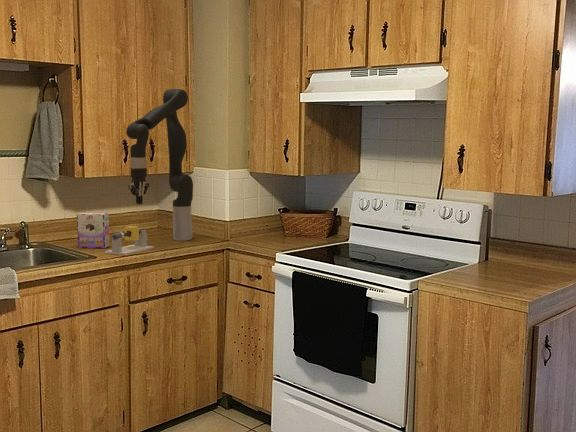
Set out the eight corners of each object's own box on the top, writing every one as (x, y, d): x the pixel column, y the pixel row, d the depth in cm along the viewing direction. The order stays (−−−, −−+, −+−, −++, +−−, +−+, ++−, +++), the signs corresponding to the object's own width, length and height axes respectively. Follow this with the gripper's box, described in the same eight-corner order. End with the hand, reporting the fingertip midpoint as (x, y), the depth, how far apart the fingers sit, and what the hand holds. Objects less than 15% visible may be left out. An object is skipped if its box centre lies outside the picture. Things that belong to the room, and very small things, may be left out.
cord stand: (133, 246, 332) (133, 226, 330) (153, 248, 326) (153, 228, 325) (105, 253, 314) (104, 232, 313) (125, 255, 308) (125, 234, 307)
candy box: (110, 246, 330) (109, 212, 328) (104, 248, 324) (103, 214, 322) (83, 245, 333) (82, 211, 331) (77, 247, 327) (76, 213, 325)
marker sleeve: (130, 238, 324) (129, 225, 323) (139, 239, 321) (138, 226, 320) (124, 239, 320) (124, 226, 319) (133, 240, 318) (133, 227, 317)
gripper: (141, 166, 329) (142, 202, 331) (122, 167, 317) (123, 205, 320) (153, 166, 326) (154, 203, 328) (135, 168, 314) (136, 206, 316)
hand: (139, 204), depth 324 cm, fingers closed
